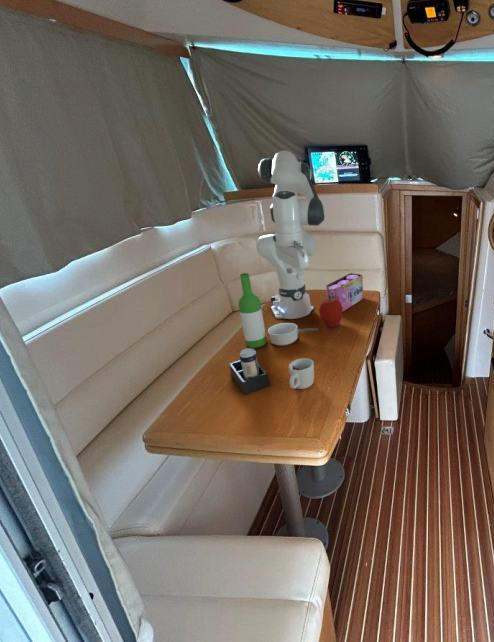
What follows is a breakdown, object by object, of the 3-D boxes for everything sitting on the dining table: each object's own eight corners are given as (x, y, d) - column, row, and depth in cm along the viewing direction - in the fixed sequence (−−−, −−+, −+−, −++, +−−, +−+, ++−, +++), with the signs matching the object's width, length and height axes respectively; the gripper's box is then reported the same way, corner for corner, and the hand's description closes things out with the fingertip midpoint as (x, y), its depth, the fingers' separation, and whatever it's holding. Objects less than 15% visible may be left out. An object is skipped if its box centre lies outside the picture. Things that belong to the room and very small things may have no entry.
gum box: (339, 314, 176) (337, 288, 171) (325, 312, 178) (323, 286, 173) (364, 298, 196) (362, 274, 192) (351, 296, 199) (350, 272, 194)
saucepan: (315, 347, 145) (314, 334, 143) (265, 347, 144) (263, 335, 142) (322, 334, 156) (321, 322, 154) (275, 334, 155) (273, 322, 153)
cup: (304, 398, 114) (301, 377, 111) (281, 395, 116) (278, 373, 113) (320, 379, 124) (318, 359, 121) (299, 376, 126) (296, 356, 123)
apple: (337, 318, 171) (335, 291, 166) (348, 325, 164) (346, 297, 159) (316, 324, 164) (313, 296, 159) (327, 332, 157) (324, 303, 152)
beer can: (264, 381, 121) (258, 349, 117) (251, 388, 118) (245, 356, 113) (255, 376, 124) (249, 346, 119) (242, 383, 120) (235, 352, 115)
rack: (231, 375, 126) (228, 363, 124) (254, 367, 131) (252, 356, 129) (245, 394, 116) (242, 382, 114) (269, 385, 121) (267, 373, 119)
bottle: (263, 348, 143) (251, 277, 133) (243, 349, 143) (229, 277, 132) (269, 339, 151) (258, 271, 140) (250, 340, 150) (237, 271, 139)
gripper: (311, 243, 122) (315, 281, 128) (287, 233, 136) (291, 268, 142) (293, 246, 118) (298, 285, 124) (270, 235, 132) (275, 271, 138)
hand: (294, 276), depth 133 cm, fingers open, 8 cm apart
